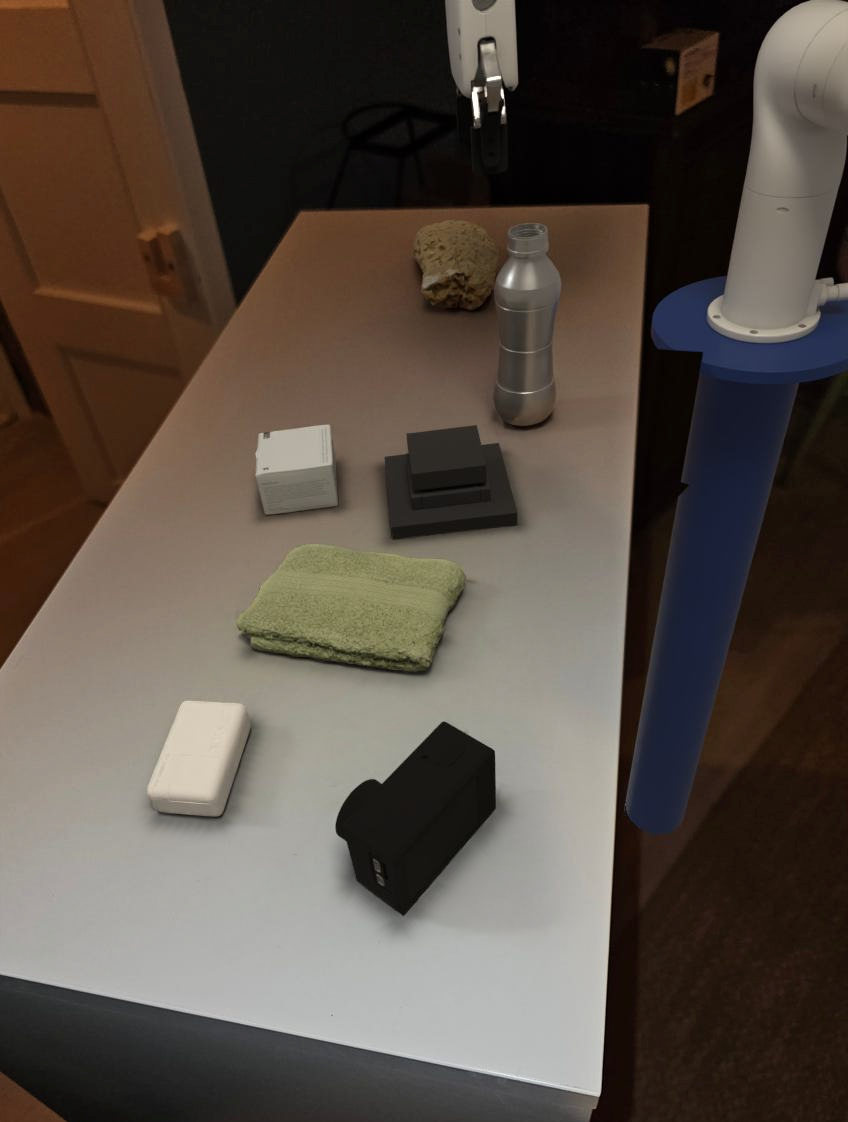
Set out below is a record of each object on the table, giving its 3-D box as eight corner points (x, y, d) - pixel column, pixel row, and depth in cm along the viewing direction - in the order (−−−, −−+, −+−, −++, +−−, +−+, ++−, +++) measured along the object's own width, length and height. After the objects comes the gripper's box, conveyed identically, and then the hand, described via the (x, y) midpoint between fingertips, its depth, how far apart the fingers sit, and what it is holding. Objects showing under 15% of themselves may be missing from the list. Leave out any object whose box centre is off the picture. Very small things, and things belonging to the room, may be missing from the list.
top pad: (477, 458, 88) (476, 424, 85) (487, 499, 83) (486, 464, 80) (409, 467, 88) (406, 433, 85) (414, 508, 83) (411, 473, 81)
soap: (190, 720, 70) (180, 696, 68) (254, 724, 69) (246, 699, 67) (153, 815, 64) (141, 792, 62) (223, 821, 63) (213, 797, 60)
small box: (339, 507, 87) (332, 465, 84) (263, 516, 88) (253, 475, 84) (337, 463, 93) (331, 422, 89) (266, 472, 93) (256, 432, 90)
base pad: (499, 454, 91) (498, 429, 88) (517, 524, 82) (517, 499, 80) (385, 468, 91) (382, 444, 89) (392, 539, 83) (389, 514, 81)
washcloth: (293, 554, 83) (287, 528, 81) (471, 581, 77) (470, 554, 75) (234, 650, 75) (225, 624, 72) (427, 688, 69) (425, 661, 67)
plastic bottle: (493, 403, 98) (491, 220, 84) (554, 400, 97) (562, 214, 82) (493, 434, 93) (490, 246, 79) (556, 432, 92) (565, 241, 78)
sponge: (499, 320, 114) (511, 230, 124) (486, 269, 108) (499, 178, 118) (406, 337, 119) (424, 249, 129) (388, 289, 113) (409, 200, 123)
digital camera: (436, 770, 64) (430, 709, 59) (497, 807, 61) (495, 747, 56) (342, 870, 59) (326, 814, 54) (403, 916, 56) (392, 861, 51)
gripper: (541, -67, 64) (539, 180, 76) (501, -94, 76) (505, 123, 88) (441, -49, 64) (455, 194, 76) (417, -78, 76) (432, 135, 89)
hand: (481, 156), depth 82 cm, fingers open, 9 cm apart
